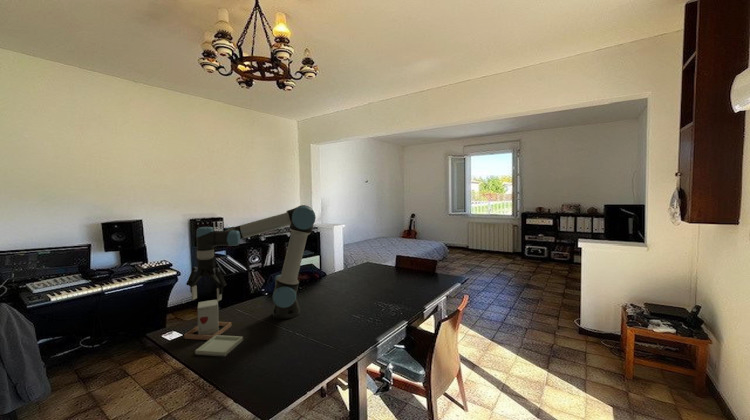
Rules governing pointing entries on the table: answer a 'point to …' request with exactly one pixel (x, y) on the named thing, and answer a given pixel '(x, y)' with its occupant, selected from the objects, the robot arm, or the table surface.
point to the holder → (207, 337)
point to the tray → (219, 345)
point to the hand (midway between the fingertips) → (206, 299)
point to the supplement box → (208, 317)
